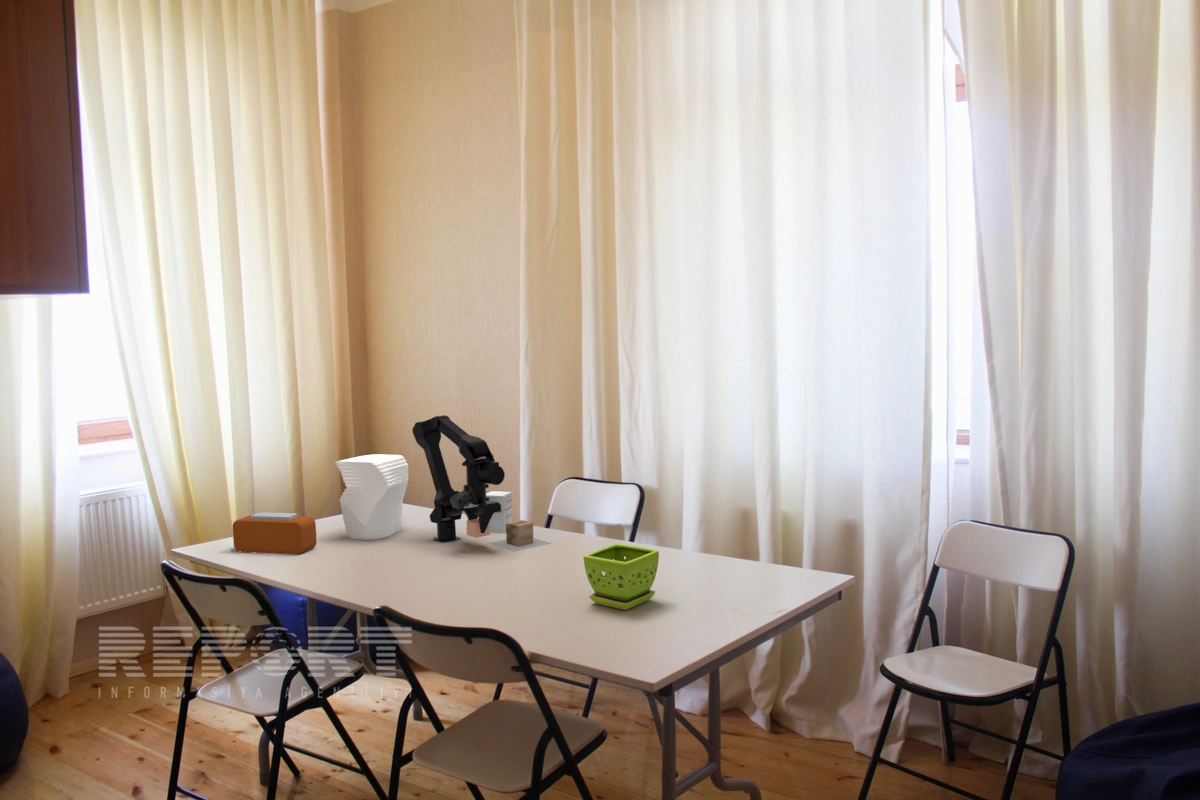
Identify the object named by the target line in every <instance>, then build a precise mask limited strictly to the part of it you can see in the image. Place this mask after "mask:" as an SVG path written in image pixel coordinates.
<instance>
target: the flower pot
mask: <svg viewBox="0 0 1200 800" xmlns="http://www.w3.org/2000/svg"><path fill="white" fill-rule="evenodd" d="M659 553H660V551H659V550H657V549H653V548H648V547H644V546H643V547H641V546H637V545H630V544H629V545H628V544H623V543H614V544H611V545H608V546H606V547H603V548H600V549H597V550H595V551H591V552H590V553H587V554H585V555H584V556H583V564H584V570H585V573H586V574H585V575H586V577H587V579H588V582H589V584H590V586H591V588H592V590H593V591H594V592H593V593H591V594H589V595H588V597H589V598H590V600H591V601H592V602H594V603H595V604H597V605H602V606H607V607H609V608H610V607H611V608H614V609H619V610H621V611H627V610H629V609H632V608H634V607H636V606H638V605H640V604H643V603H645V602H647V601H649V600H651V599H652V598H653V596H655V594H656V591H655V590H651V588H652V586H653V584H654V581H655V579H656V575H657V572H658V566H659V559H660V554H659ZM603 573H604V574H603Z"/></svg>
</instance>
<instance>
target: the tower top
mask: <svg viewBox="0 0 1200 800" xmlns="http://www.w3.org/2000/svg"><path fill="white" fill-rule="evenodd" d="M530 533H533V534H534V522H532V521H528V520H523V519H518V520H514V521H513V520H512V522H509V523H506V532H505V535H506V534H511V535H515V536H522V535H526V534H530Z"/></svg>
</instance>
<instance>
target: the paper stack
mask: <svg viewBox="0 0 1200 800" xmlns="http://www.w3.org/2000/svg"><path fill="white" fill-rule="evenodd" d="M335 464H336V468H338V472H340V475H341V479H342V481H343V483H344V485H345V488H344V491H343V492H342V495H340V498H339V501H340V502H339V503H340V508H341V515H342V520H343V523H344V528H345V534H346V536H347V537H348V538H349V539H354V540H362V541H363V540H365V541H369V540H370V541H371V540H372V541H373V540H379V539H383V538H387V537H390V536H392V535H394V534H396V533H399V532H400V531H401V530H402V528H403V518H404V517H403V504H404V503H403V502H404V497H405V494H406V491H407V487H408V483H409V480H410V479H409V463H407V460H406V459H405V456H403V455H400V454H386V453H385V454H383V453H382V454H381V453H379V454H377V453H375V454H366V455H365V454H364V455H360V456H355V457H350V458H345V459H341V460H336V461H335V463H334V465H335Z"/></svg>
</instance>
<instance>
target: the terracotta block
mask: <svg viewBox="0 0 1200 800" xmlns="http://www.w3.org/2000/svg"><path fill="white" fill-rule="evenodd" d="M490 533H491V532H489V524H488V526H487V528H486V531H485V533H481V531H480V524H479V517H478V519H472V520H468V519H467V520H466V536H469V537H473V538H475V539H477V538H481V537H486V536H487V537H488V536H490Z"/></svg>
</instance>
